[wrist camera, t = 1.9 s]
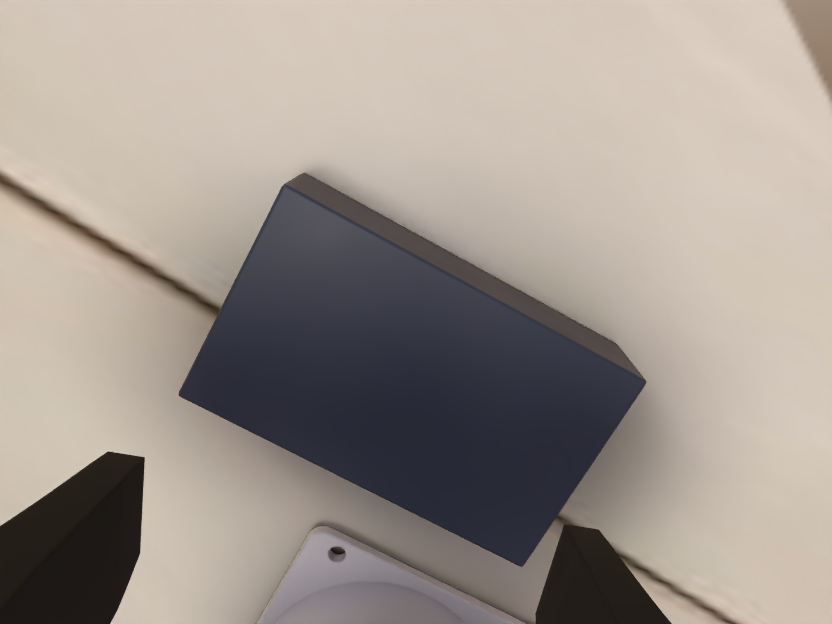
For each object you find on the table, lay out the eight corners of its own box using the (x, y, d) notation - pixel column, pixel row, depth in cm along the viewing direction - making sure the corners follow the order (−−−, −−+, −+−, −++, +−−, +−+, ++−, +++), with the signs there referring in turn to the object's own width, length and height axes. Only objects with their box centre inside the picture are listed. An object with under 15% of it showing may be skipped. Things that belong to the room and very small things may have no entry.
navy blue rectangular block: (619, 344, 22) (649, 382, 19) (510, 511, 23) (522, 569, 20) (303, 171, 21) (283, 183, 18) (209, 357, 22) (176, 396, 19)
